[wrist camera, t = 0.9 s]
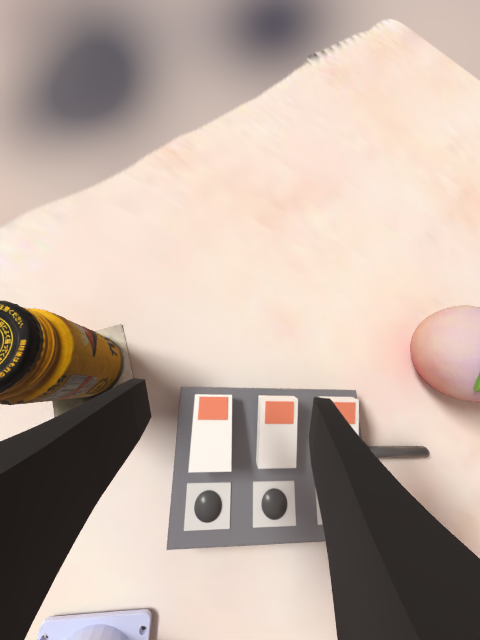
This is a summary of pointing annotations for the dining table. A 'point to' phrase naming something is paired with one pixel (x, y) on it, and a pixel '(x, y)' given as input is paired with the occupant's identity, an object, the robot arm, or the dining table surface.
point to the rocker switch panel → (251, 479)
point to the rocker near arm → (211, 434)
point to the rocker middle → (277, 432)
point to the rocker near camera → (348, 410)
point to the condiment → (57, 359)
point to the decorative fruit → (450, 351)
